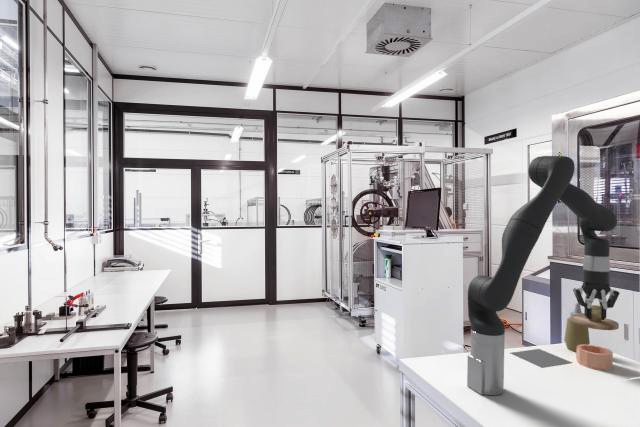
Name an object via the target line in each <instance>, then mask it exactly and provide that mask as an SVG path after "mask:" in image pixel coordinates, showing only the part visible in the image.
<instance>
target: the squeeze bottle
mask: <svg viewBox="0 0 640 427" xmlns="http://www.w3.org/2000/svg"><path fill="white" fill-rule="evenodd" d="M569 314H570V315H569V316H570V317H567V320H566V327H565V332H564V333H565V334H564V340H563V341H564V342H565V346H566V348H567V350H568V351H570V352H573V353H576V351H577V346H578V345H582V344H587V345H591V344H590V331H589V328H587V327H583V326H580V325H577V324H575V323H573V317H574V316H585V315H584V312H582V309H581V305H579V304H578V302H576V303H575V306H574V309H573V311H570V312H569Z"/></svg>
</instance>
